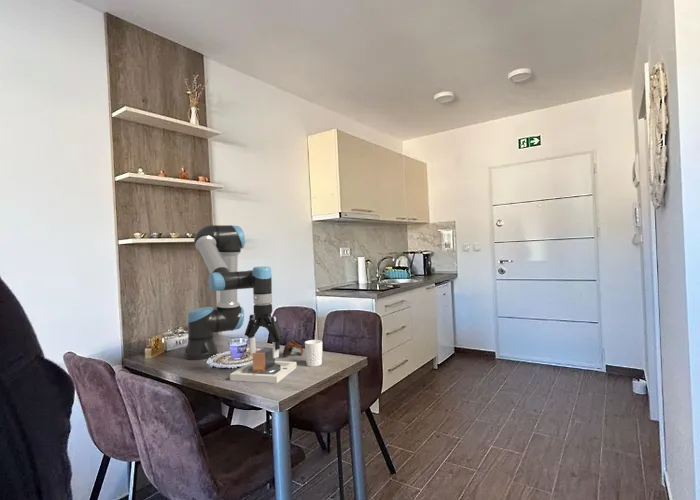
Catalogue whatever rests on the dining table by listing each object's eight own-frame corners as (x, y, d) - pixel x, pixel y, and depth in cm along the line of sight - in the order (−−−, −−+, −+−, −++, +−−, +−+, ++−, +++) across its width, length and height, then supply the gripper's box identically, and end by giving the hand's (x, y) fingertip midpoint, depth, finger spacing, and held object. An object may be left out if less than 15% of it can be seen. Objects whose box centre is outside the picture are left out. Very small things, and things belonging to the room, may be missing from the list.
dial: (258, 365, 170) (257, 345, 170) (285, 367, 167) (285, 347, 167) (242, 375, 158) (241, 353, 158) (271, 376, 154) (271, 355, 154)
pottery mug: (285, 353, 197) (293, 338, 198) (300, 362, 194) (308, 347, 195) (275, 353, 186) (284, 337, 187) (291, 363, 183) (300, 347, 184)
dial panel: (230, 380, 155) (229, 373, 155) (254, 365, 174) (254, 359, 174) (277, 383, 150) (276, 376, 150) (296, 367, 170) (296, 361, 170)
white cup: (319, 361, 179) (318, 339, 179) (325, 365, 172) (325, 342, 172) (302, 363, 176) (302, 341, 176) (308, 368, 169) (308, 344, 169)
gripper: (235, 303, 166) (236, 353, 166) (278, 307, 152) (279, 361, 152) (249, 301, 172) (250, 349, 173) (291, 304, 159) (292, 357, 159)
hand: (264, 355), depth 162 cm, fingers open, 13 cm apart
